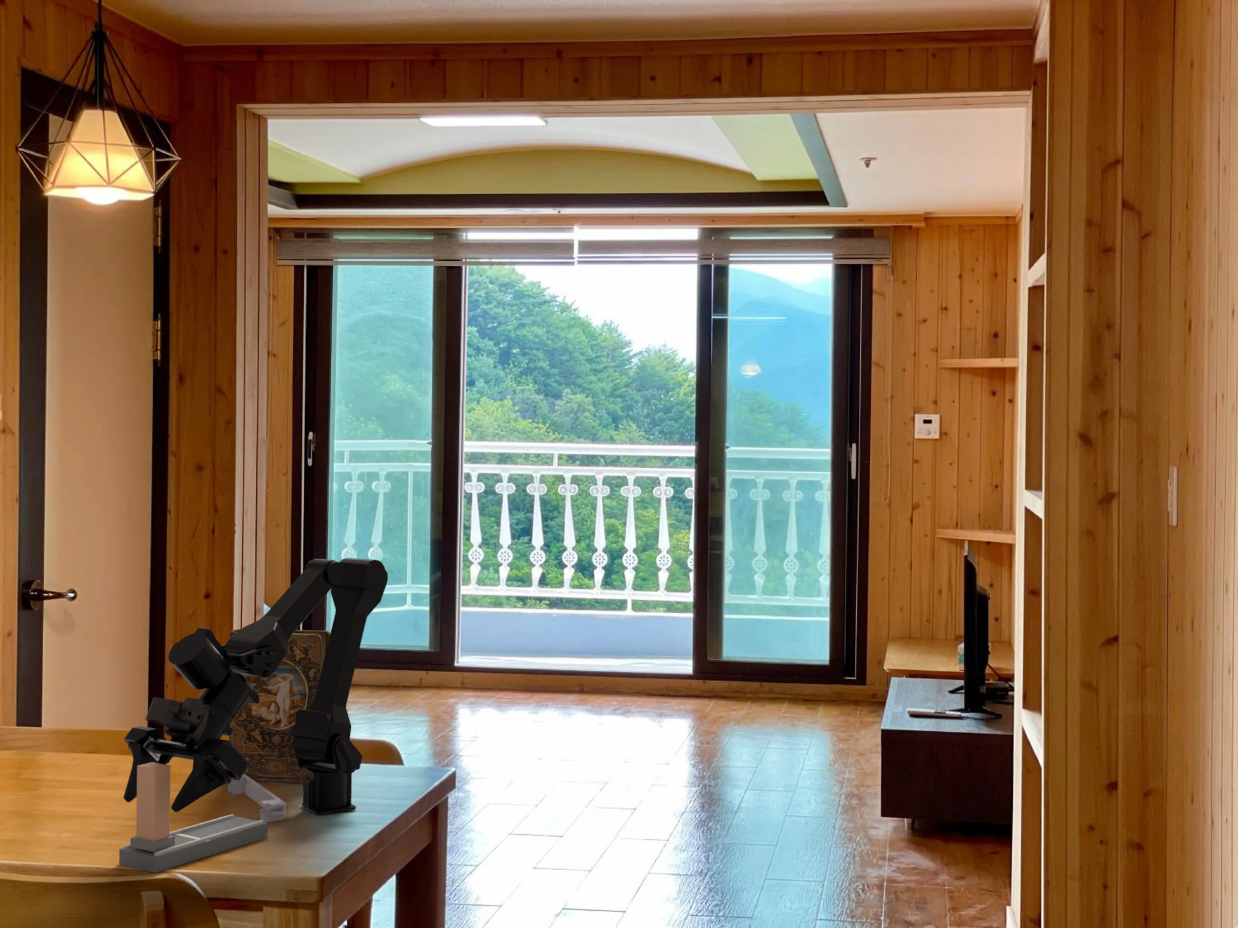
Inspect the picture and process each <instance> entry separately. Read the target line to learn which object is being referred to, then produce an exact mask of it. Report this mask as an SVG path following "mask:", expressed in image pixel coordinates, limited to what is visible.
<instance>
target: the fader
mask: <svg viewBox="0 0 1238 928" xmlns="http://www.w3.org/2000/svg"><path fill="white" fill-rule="evenodd" d="M170 808H171V765H169V764H166V765H165V764H159V763H154V762H151V763H147V764H142V765H138V766H137V797H136V816H135V817H136V824H135V825H136V827H135V830H136V833H135V836H131V837H130V843H129V844H130V847H134V848H139V849H143V850H147V851H152V852H154V851H158V850H161V849H164V848H168V847H171V846H174V845H175V836H171V835H169V832H170V829H171V828H170V827H171V826H170V824H171V822H170V816H171V815H170V813H171V811H170V810H171V809H170Z"/></svg>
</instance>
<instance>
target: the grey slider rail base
mask: <svg viewBox="0 0 1238 928" xmlns="http://www.w3.org/2000/svg"><path fill="white" fill-rule="evenodd" d="M268 825H269V824H268V822H263V820H260V819H259V820H254V819H250V818H245V817H239V816H235V814H233V813H232V814H228V815H225V816H221V817H218V818H213V819H211V820H207V821H203V822H200V823H196V824H194V825H190V826H187V827H183V828H180V829H176V830H172V831H169V835H171V836H175V845H174V846H171V847H168V848H164V849H161V850H158V851H154V852H152V851H147V850H143V849H139V848H134V847H130V843H128V844H125V845H124V847H121V848H119V852H118V853H119V854H118V855H119V857H118V862H119V863H118V865H123V866H126V867H130V868H134V869H139V870H141V871H147V872H152V873H155V874H156V873H159V872H163V871H165V870H168V869H171V868H174V867H177V866H181V865H184V864H188V863H190V862H193V861H196V860H199V859H203V858H206V857H208V856H213V855H216V854H219V853H221V852H225V851H229V850H231V849H235V848H238V847H240V846H245V845H246V844H251V843H252V842H255V841H260V840H263V839H265V838H268V837H269V836H268V835H269V834H268V830H269V829H268V828H269V826H268Z"/></svg>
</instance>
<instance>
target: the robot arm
mask: <svg viewBox="0 0 1238 928" xmlns="http://www.w3.org/2000/svg"><path fill="white" fill-rule="evenodd" d="M388 574H389V572H388V571H387V570H386V567H385V565H384V563H383V562H382V561H380V560H378V559H370V558H356V557H355V558H353V557H345V558H342V559H341V560H340V561H337V560H335V559H325V558H314V559H312V560H309V561H308V562H307V563H306V564H305V566H304V570H303V571H302V573H300V575H299V576H298V577H297V578H296V579H295V580H294V581H293V582H292V584H291V585H290V587H288V588H287V590H285V592H284V593H283V594H282V595H281V596H280V597H279V598H278V599H277V601H276V602H275V603H274V605H272V607H270V609H269V610H268V611H267V612H266V613H265V614H264V615H263V616H262V617H261V618H260V619H258V620H256V621H254V622H252V623H249V624H247V625H246V626H243V627H242V628H240V629H241V630H240V631H238V632H237V633H236V634H235V635H233V636H232V637H231V638H228V640H227V642H226V643H224V644H221V643H220V642H219V641H218V639H217V638H216V636H215V633H213V631H212V629H210V628H208V627H198V628H196V630H195V632H194V633H190V634H188V635H186V636H184V637H183V638H181V639H180V640H179V641H178V642H175V643H174V644H173V646H171V648H170V650H169V653H168V662H170V664H171V665H172V666H173V667H174V669H176V670H177V672H178V673H179V674H180V675H181V676H182V677H183V679H184V680H185V681H186V682H187V683H188V685H190V686H191V688H193V689H194V690H198V691H199V690H202V691H201V693H200V694H199V696H198V697H197V698H193V697H185V699H184V700H183V701H178V700H174V699H170V698H169V699H168V698H163V697H156V696H155V697H153V698H152V701H151V704H150V705H149V709H148V711H147V714H146V716H145V721H147V722H149V723H151V722H153V723H155V724H159V725H161V726H163V727H164V728H163V729H162V731H163V732H164V733H165V735H167V736H170V737H171V738H170V740H167V738H165V737H164V735H162V733H161V732H160V731H159V730H158V729H157V728H155V727H154V728H152V727H147V726H133V727H131V728H130V730H129V731H128V733H127V734H126V735H125V736H124V739H123V741H124V742H125V743H126V744H127V748H128V750H129V751H130V752H131V756H132V763H131V764H132V765H131V769H130V773H129V777H128V780H127V784H126V787H125V790H124V794H123V800H124V801H125V802H127V803H131V802H132V801H133V800H134V799H137V766H138V765H142V764H147V763H151V762H154V763H159V764H165V765H168V764H169V763H170V762H171V760H172V759H173V757H175V758H178V759H179V758H180V759H184V760H185V759H186V760H192V770H191V771H190V772H189V775H188V776H187V779H186V780H185V781H184V783H183V785H182V787H180V789H179V791H178V793H177V795H176V797H175V799H174V801H173V803H172V805H170V808H171V809H170V810H172V811H173V812H174V813H179V812H180V811H181V810H183V809H185V808H187V807H188V806H190V805H191V804H193V803H195V802H196V801H197V800H199V799H200V798H203V797H204V796H206V795H208V794H210V793H212V792H213V791H215V790H216V789H218V788H221V787H222V786H223V785H228V784H230V783H231V779H233V780H238V781H239V780H240V779H241V777H242V776H243V774H244V773H245V771H246V769H247V760H246V758H245V757H244V756H243V755H242V754H241V753H240V752H239V750H238V749H237V748H236V747H235V746H234V745H233V744H232V743H231V741H229V739H228V740H227V739H221V738H222V737H223V736H228V737H229V736H230V735H231V733H232V732H233V729H232V728H231V727H230V723H231V722H232V720H233V719H234V717H235V716H236V714H237V713H238V711H239V710H240V708H241V707H242V705H243V704H244V702H247V703H254V704H258V703H259V702H260V699H259V694H258V691H257V684H250V683H249V682H248V681H247V680H246V679H245V678H244V676H243V675H248V676H255V677H269V676H271V675H272V674H273V673H274V672H275V671H276V669H277V668H278V666H279V664H280V663H281V661H282V660H283V658H284V656H285V655H286V653H287V646H288V640H289V638H290V637H291V635H292V634H293V633H294V632H295V630H298V628H299V627H300V626H301V625H302V623H304V621H305V620H306V619H307V618H308V617H309V615H310V614H311V613H312V612H313V611H314V609H315V608H316V607H317V606H318V605H319V603H320V602H322V600H323V598H325V597H326V595H327V594H328V593H329V592H330V595H331V598H332V602H333V605H334V609H335V613H334V618H333V621H332V624H331V625H332V626H331V629H330V637H329V641H328V645H327V649H326V653H325V658H324V662H323V666H322V670H321V674H320V678H319V682H318V686H317V691H316V695H315V698H314V701H313V702H312V703H311V705H310V706H309V707H308V708H307V709H306V710H304V709H299V710H298V712H297V713H296V719H295V725H294V728H293V730H292V732H291V734H290V735H292V736H293V738H292V748H293V749H294V751H295V755H296V758H297V762H298V766H299V768H308V769H306V779H304V780H303V785H302V803H301V807H302V808H304V809H306V810H308V811H309V812H311V813H313V814H314V815H317V816H318V815H319V816H320V815H326V814H333V813H339V812H345V811H346V812H347V811H354V810H356V809H357V806H356V805H354V804H353V803H352V793H353V792H352V789H353V788H352V787H353V786H352V785H353V782H352V780H353V778H352V777H353V773H355V771H359V770H360V768H361V765H362V760H363V754H362V753H361V752H360V751H359V750H358V748H357V747H356V746H355V745H354V744H353V742H352V741H351V732H352V724H351V721H350V717H349V716H350V715H349V712H348V709H347V704H348V699H349V694H350V691H351V686H352V684H353V683H352V682H353V678H354V674H355V669H356V665H357V662H358V657H359V653H360V648H361V645H362V640H363V636H364V631H365V627H366V623H367V619H368V617H369V615H371V613H372V612H373V611H374V609H375V608H376V607H377V606H378V605H380V603H381V601H382V599H383V596H384V593H385V590H386V587H387V584H388V579H389V575H388Z"/></svg>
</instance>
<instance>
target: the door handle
mask: <svg viewBox="0 0 1238 928" xmlns="http://www.w3.org/2000/svg"><path fill="white" fill-rule="evenodd" d="M227 793H229V794H230V795H231V796H237V795H246V796H247V797H249V798H250V799H251V800H252V801H254V802H255V803H256V804H258V805H259V806H261V807H262V808H261V809H260V810H259V811H260V815H259V816H260V817H259V821H260V820H263V822H265V823H268V822H276V821H283V820H284V814H285V815H286V814H287V802H285V801H283V800H282V799H281V798H279V797H278V796H277V795H275V794H274V793H272V792H271V791H269V790H268V789H267V788H266V787H264V786H262V785H261V784H260V783H257V782H255V781H254V780H252V779H251V778H250V777H248V776H247V775H245V774H243V776H242V777H241V779H240V780H239V781H238V780H233V779H231V783H230V784H227Z"/></svg>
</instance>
